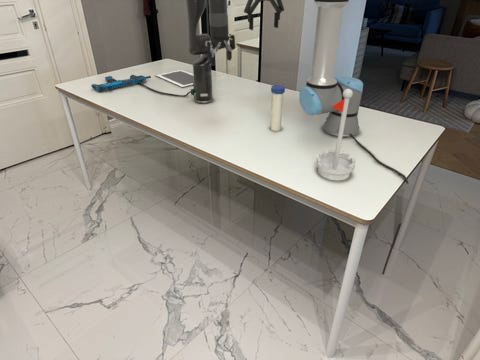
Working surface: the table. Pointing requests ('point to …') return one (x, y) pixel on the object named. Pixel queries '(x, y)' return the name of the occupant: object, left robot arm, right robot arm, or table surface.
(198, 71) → the left robot arm
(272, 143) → the table surface
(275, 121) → the tube
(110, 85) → the submachine gun
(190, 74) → the tablet
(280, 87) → the lid
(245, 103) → the table surface
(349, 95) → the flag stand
